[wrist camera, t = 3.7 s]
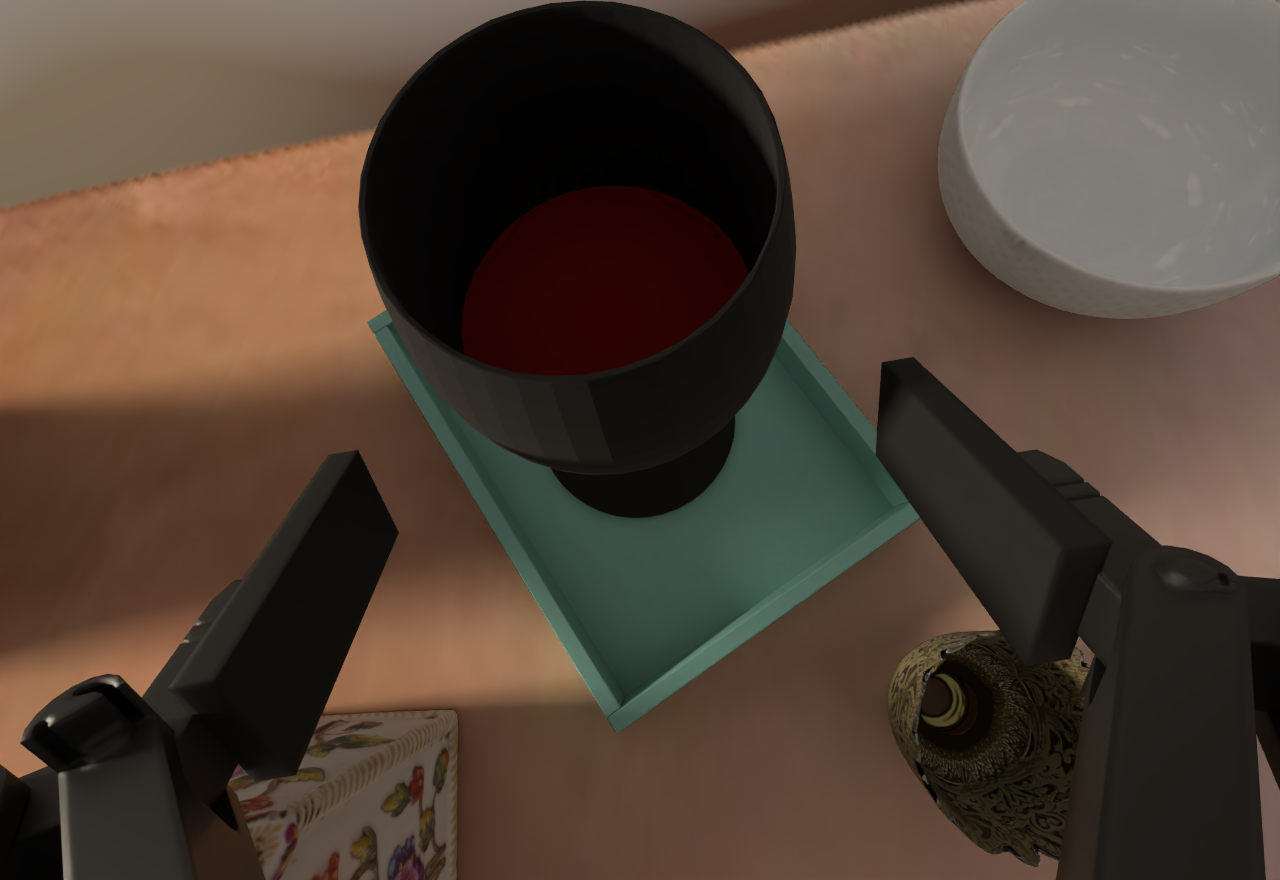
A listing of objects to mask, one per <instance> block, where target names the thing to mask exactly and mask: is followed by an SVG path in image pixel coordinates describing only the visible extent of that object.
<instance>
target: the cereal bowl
mask: <svg viewBox="0 0 1280 880" xmlns="http://www.w3.org/2000/svg"><path fill="white" fill-rule="evenodd" d="M937 160H938V172H937V173H938V177H939V188H940V191H941V197H942V201H943V204H944V206H945V209H946V213H947V215H948V217H949V219H950V221H951V223H952V225H953V228H954V229H955V231H956V232H957V235H958V236H959V238H960V239H961V240H962V242H963V244H964V245H965V246H966V247H967V248H968V250H969V251H970V253H971V254H972V255H973V256H974V257H975V258H976V259H977V260H978V261H979V262H980V263H981V264H982V265H983V267H984V268H986V269H987V270H988V271H989V272H990V273H991V274H993V275H994V276H995V277H996V278H997V279H999V280H1001V281H1003V282H1004V283H1005V284H1006V285H1008V286H1010V287H1012V288H1013V289H1014V290H1016V291H1019V292H1020V293H1021V294H1023V295H1024V296H1028V297H1029V298H1031V299H1034V300H1037V301H1038V302H1040V303H1042V304H1046V305H1047V306H1050V307H1055V308H1057V309H1059V310H1061V311H1068V312H1072V313H1074V314H1081V315H1086V316H1093V317H1102V318H1115V319H1141V318H1157V317H1161V316H1165V315H1176V314H1179V313H1182V312H1185V311H1193V310H1197V309H1199V308H1202V307H1204V306H1210V305H1214V304H1216V303H1218V302H1220V301H1223V300H1227V299H1231V298H1233V297H1235V296H1236V295H1238V294H1240V293H1242V292H1245V291H1249V290H1252V289H1253V288H1256V287H1257V286H1259V285H1260V284H1262V283H1265V282H1267V281H1270V280H1272V279H1274V278H1275V277H1277V276H1279V275H1280V3H1279V2H1278V1H1276V0H1025V1H1024V2H1022V3H1021V4H1019V5H1018V6H1017V7H1016V8H1014V9H1013V10H1012V11H1010V12H1009V13H1008V14H1007V15H1006V16H1005V17H1004V18H1003V19H1001V20H1000V21H999V22H998V23H997V24H996V25H995V26H994V28H993V29H992V30H991V31H990V32H989V33H988V34H987V36H986V37H985V38H984V40H983V41H982V42H981V44H980V45H979V46H978V48H977V49H976V51H975V53H974V55H973V56H972V58H971V59H970V61H969V62H968V64H967V66H966V69H965V71H964V73H963V75H962V76H961V78H960V80H959V83H958V86H957V88H956V90H955V91H954V93H953V95H952V98H951V102H950V104H949V106H948V109H947V111H946V115H945V120H944V122H943V125H942V129H941V136H940V139H939V151H938V158H937Z"/></svg>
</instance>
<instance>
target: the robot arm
mask: <svg viewBox="0 0 1280 880" xmlns="http://www.w3.org/2000/svg"><path fill="white" fill-rule="evenodd" d="M876 457H877V458H878V459H879V461H880V462H881V464H882V465H883V466H884V468H885V469H886V471H887V472H888V473H889V475H890V476H891V478H892V479H893V480H894V482H895V483H896V485H897V486H898V487H899V489H900V490H901V492H902V493H903V494H904V496H905V497H906V499H907V500H908V501H909V503H910V504H911V506H912V507H913V508H914V510H915V511H916V513H917V514H918V515H919V517H920V518H921V520H922V521H923V522H924V524H925V525H926V527H927V528H928V529H929V531H930V532H931V534H932V535H933V536H934V538H935V539H936V541H937V542H938V543H939V545H940V546H941V548H942V549H943V550H944V552H945V553H946V555H947V556H948V557H949V559H950V560H951V562H952V563H953V564H954V566H955V567H956V569H957V570H958V571H959V573H960V574H961V576H962V577H963V578H964V580H965V581H966V583H967V584H968V585H969V587H970V588H971V590H972V591H973V592H974V594H975V595H976V597H977V598H978V599H979V601H980V602H981V604H982V605H983V606H984V608H985V609H986V611H987V612H988V613H989V615H990V616H991V618H992V619H993V620H994V622H995V623H996V625H997V626H998V627H999V629H1000V630H1001V632H1002V633H1003V634H1004V636H1005V637H1006V639H1007V640H1008V641H1009V643H1010V644H1011V646H1012V647H1013V648H1014V650H1015V651H1016V653H1017V654H1018V655H1019V657H1020V658H1021V660H1022V661H1023V662H1024V664H1025V665H1026V666H1027V665H1034V664H1041V663H1047V662H1054V661H1061V660H1067V659H1070V658H1071V656H1072V653H1073V650H1074V647H1075V645H1076V642H1077V639H1078V636H1080V638H1081V639H1082V640H1083V641H1084V642H1085V644H1086V645H1087V646H1088V647H1089V648H1090V649H1091V651H1092V652H1093V653H1094V654H1095V656H1094V658H1093V661H1092V663H1091V666H1090V668H1089V671H1088V674H1087V676H1086V679H1085V681H1084V684H1083V686H1082V689H1081V691H1080V695H1082V696H1085V702H1084V708H1083V715H1082V721H1081V727H1080V733H1079V740H1078V746H1077V752H1076V758H1075V765H1074V771H1073V777H1072V783H1071V790H1070V796H1069V802H1068V808H1067V814H1066V821H1065V827H1064V833H1063V839H1062V846H1061V852H1060V858H1059V864H1058V871H1057V877H1056V880H1266V877H1265V862H1264V846H1263V831H1262V816H1261V801H1260V786H1259V770H1258V755H1257V740H1256V734H1257V737H1258V739H1259V742H1260V744H1261V746H1262V749H1263V751H1264V753H1265V756H1266V758H1267V761H1268V763H1269V765H1270V768H1271V770H1272V773H1273V775H1274V777H1275V780H1276V782H1277V785H1278V787H1279V789H1280V579H1271V578H1259V577H1246V576H1237V575H1236V574H1235V573H1234V572H1233V571H1232V570H1231V569H1230V568H1229V567H1228V566H1226V565H1224V564H1223V563H1221V562H1219V561H1217V560H1215V559H1214V558H1212V557H1210V556H1208V555H1205V554H1202V553H1199V552H1196V551H1193V550H1190V549H1187V548H1180V547H1173V546H1162V545H1161V544H1159V543H1158V542H1157V541H1156V540H1155V539H1154V538H1152V537H1151V536H1150V535H1149V534H1148V533H1147V532H1145V531H1144V530H1143V529H1142V528H1141V527H1140V526H1138V525H1137V524H1136V523H1135V522H1134V521H1132V520H1131V519H1130V518H1129V517H1128V516H1127V515H1125V514H1124V513H1123V512H1122V511H1121V510H1120V509H1118V508H1117V507H1116V506H1115V505H1114V504H1112V503H1111V502H1110V501H1109V500H1108V499H1107V498H1105V497H1104V496H1100V492H1098V491H1097V490H1096V489H1095V488H1094V487H1092V486H1091V485H1090V484H1089V483H1088V482H1084V479H1083V478H1082V477H1081V476H1080V475H1078V474H1077V473H1076V472H1075V471H1074V470H1072V469H1071V468H1070V467H1069V466H1068V465H1067V464H1065V463H1064V462H1062V461H1060V460H1058V459H1056V458H1054V457H1052V456H1049V455H1047V454H1045V453H1043V452H1041V451H1039V450H1031V451H1025V452H1019V453H1017V452H1015V451H1014V450H1013V449H1012V448H1011V447H1010V446H1009V445H1008V444H1007V443H1006V442H1005V441H1004V440H1002V439H1001V438H1000V437H999V436H998V435H997V434H996V433H995V432H994V431H993V430H992V429H991V428H989V427H988V426H987V425H986V424H985V423H984V422H983V421H982V420H981V419H980V418H979V417H978V416H976V415H975V414H974V413H973V412H972V411H971V410H970V409H969V408H968V407H967V406H966V405H965V404H963V403H962V402H961V401H960V400H959V399H958V398H957V397H956V396H955V395H954V394H953V393H952V392H950V391H949V390H948V389H947V388H946V387H945V386H944V385H943V384H942V383H941V382H940V381H939V380H937V379H936V378H935V377H934V376H933V375H932V374H931V373H930V372H929V371H928V370H927V369H926V368H924V367H923V366H922V365H921V364H920V363H919V362H918V361H917V360H916V359H915V358H914V357H911V358H905V359H899V360H893V361H887V362H882V367H881V382H880V396H879V411H878V426H877V440H876ZM398 533H399V532H398V530H397V528H396V526H395V524H394V522H393V520H392V518H391V516H390V514H389V512H388V510H387V508H386V506H385V504H384V502H383V500H382V497H381V495H380V493H379V491H378V489H377V487H376V485H375V483H374V481H373V479H372V477H371V475H370V473H369V471H368V469H367V467H366V465H365V463H364V461H363V459H362V457H361V455H360V453H359V451H358V450H356V451H350V452H344V453H338V454H332V455H328V456H327V458H326V459H325V461H324V462H323V464H322V465H321V467H320V468H319V469H318V471H317V472H316V474H315V475H314V477H313V478H312V480H311V481H310V482H309V484H308V485H307V487H306V488H305V490H304V491H303V493H302V494H301V496H300V497H299V498H298V500H297V501H296V503H295V504H294V506H293V507H292V509H291V510H290V512H289V513H288V514H287V516H286V517H285V519H284V520H283V522H282V523H281V525H280V526H279V527H278V529H277V530H276V532H275V533H274V535H273V536H272V538H271V539H270V541H269V542H268V543H267V545H266V546H265V548H264V549H263V551H262V552H261V554H260V555H259V556H258V558H257V559H256V561H255V562H254V564H253V565H252V567H251V568H250V570H249V571H248V572H247V574H246V575H245V577H244V578H243V579H242V580H236V581H233V582H232V583H231V584H230V585H229V586H228V587H227V588H225V589H224V590H223V591H222V592H221V593H220V594H219V595H218V596H216V597H215V598H214V599H213V600H212V601H211V602H210V604H209V605H208V606H207V608H206V609H205V611H204V612H203V613H202V615H201V616H200V617H199V619H198V620H197V622H196V623H197V625H196V626H193V627H192V629H191V630H190V631H189V633H188V634H187V636H186V637H185V638H184V643H183V644H180V645H179V647H178V648H177V649H176V651H175V652H174V654H173V655H172V656H171V658H170V659H169V661H168V662H167V663H166V665H165V666H164V667H163V669H162V670H161V672H160V673H159V674H158V676H157V677H156V679H155V680H154V681H153V683H152V684H151V686H150V687H149V688H148V690H147V691H146V692H145V694H144V695H143V697H142V698H141V697H140V696H139V695H138V694H137V693H136V692H135V691H134V690H133V689H132V688H131V687H130V686H129V685H128V684H127V683H126V682H125V681H124V680H123V679H122V678H121V677H120V676H119V675H112V674H106V675H101V676H97V677H93V678H90V679H88V680H86V681H84V682H82V683H79V684H77V685H75V686H73V687H71V688H70V689H68V690H67V691H65V692H64V693H62V694H61V695H59V696H58V697H56V698H55V699H53V700H52V701H51V702H50V703H49V704H48V705H46V706H45V707H44V708H43V709H42V710H41V711H40V712H39V713H38V714H36V716H35V717H34V718H33V720H32V721H31V722H30V724H29V725H28V726H27V728H26V729H25V730H24V733H23V736H22V739H21V742H20V744H22V745H23V746H24V747H25V748H27V749H28V750H29V751H31V752H32V753H33V754H34V755H36V756H37V757H38V758H39V759H41V760H42V761H43V762H44V763H46V764H47V765H48V766H47V767H45V768H42V769H40V770H37V771H35V772H33V773H30V774H28V775H25V776H23V777H20V778H18V777H16V776H15V775H14V774H12V773H11V772H10V771H8V770H7V769H6V768H4V767H3V766H2V765H0V880H266V879H265V876H264V873H263V870H262V867H261V864H260V861H259V858H258V855H257V852H256V849H255V846H254V843H253V840H252V837H251V834H250V831H249V828H248V825H247V822H246V819H245V817H244V814H243V811H242V808H241V805H240V802H239V799H238V796H237V794H236V793H235V792H234V790H233V789H232V788H231V787H230V786H229V785H228V782H229V781H230V779H231V777H232V775H233V773H234V771H235V769H236V767H237V765H238V764H239V765H240V766H241V767H242V768H243V769H244V770H245V772H246V773H247V774H248V775H249V776H250V777H251V778H252V779H253V780H254V781H262V780H268V779H275V778H282V777H288V776H295V775H296V774H297V771H298V769H299V767H300V764H301V762H302V760H303V757H304V755H305V753H306V750H307V748H308V746H309V743H310V741H311V738H312V736H313V734H314V731H315V729H316V727H317V724H318V722H319V720H320V717H321V715H322V713H323V710H324V708H325V705H326V703H327V701H328V698H329V696H330V694H331V691H332V689H333V687H334V684H335V682H336V680H337V677H338V675H339V672H340V670H341V668H342V665H343V663H344V661H345V658H346V656H347V654H348V651H349V649H350V647H351V644H352V642H353V639H354V637H355V635H356V632H357V630H358V628H359V625H360V623H361V621H362V618H363V616H364V614H365V611H366V609H367V606H368V604H369V602H370V599H371V597H372V595H373V592H374V590H375V588H376V585H377V583H378V581H379V578H380V576H381V573H382V571H383V569H384V566H385V564H386V562H387V559H388V557H389V555H390V552H391V550H392V548H393V545H394V543H395V540H396V538H397V536H398Z"/></svg>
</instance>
